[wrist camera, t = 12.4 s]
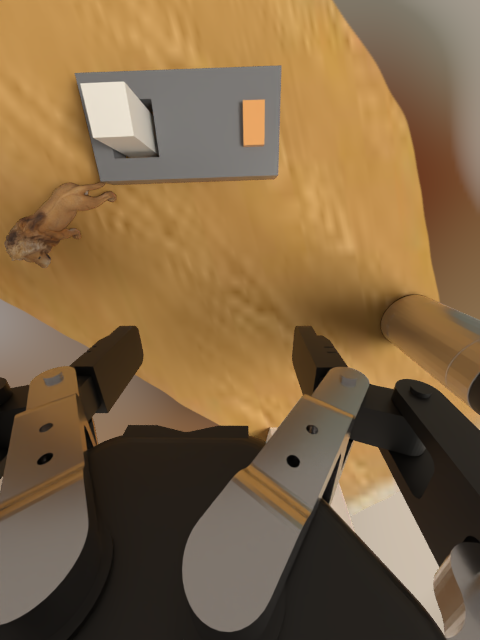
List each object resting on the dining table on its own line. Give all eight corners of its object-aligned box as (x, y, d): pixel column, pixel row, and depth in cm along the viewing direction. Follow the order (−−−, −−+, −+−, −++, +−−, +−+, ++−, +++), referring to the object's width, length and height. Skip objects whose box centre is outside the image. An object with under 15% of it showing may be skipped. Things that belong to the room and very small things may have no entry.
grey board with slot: (276, 82, 28) (282, 61, 24) (273, 179, 32) (279, 174, 28) (93, 89, 28) (69, 68, 24) (114, 184, 32) (97, 180, 28)
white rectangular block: (155, 118, 29) (124, 81, 21) (161, 157, 31) (134, 136, 23) (124, 120, 29) (80, 83, 21) (131, 158, 31) (93, 137, 23)
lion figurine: (74, 264, 37) (27, 278, 28) (41, 239, 35) (-18, 246, 27) (126, 186, 32) (89, 176, 24) (91, 154, 31) (39, 132, 23)
